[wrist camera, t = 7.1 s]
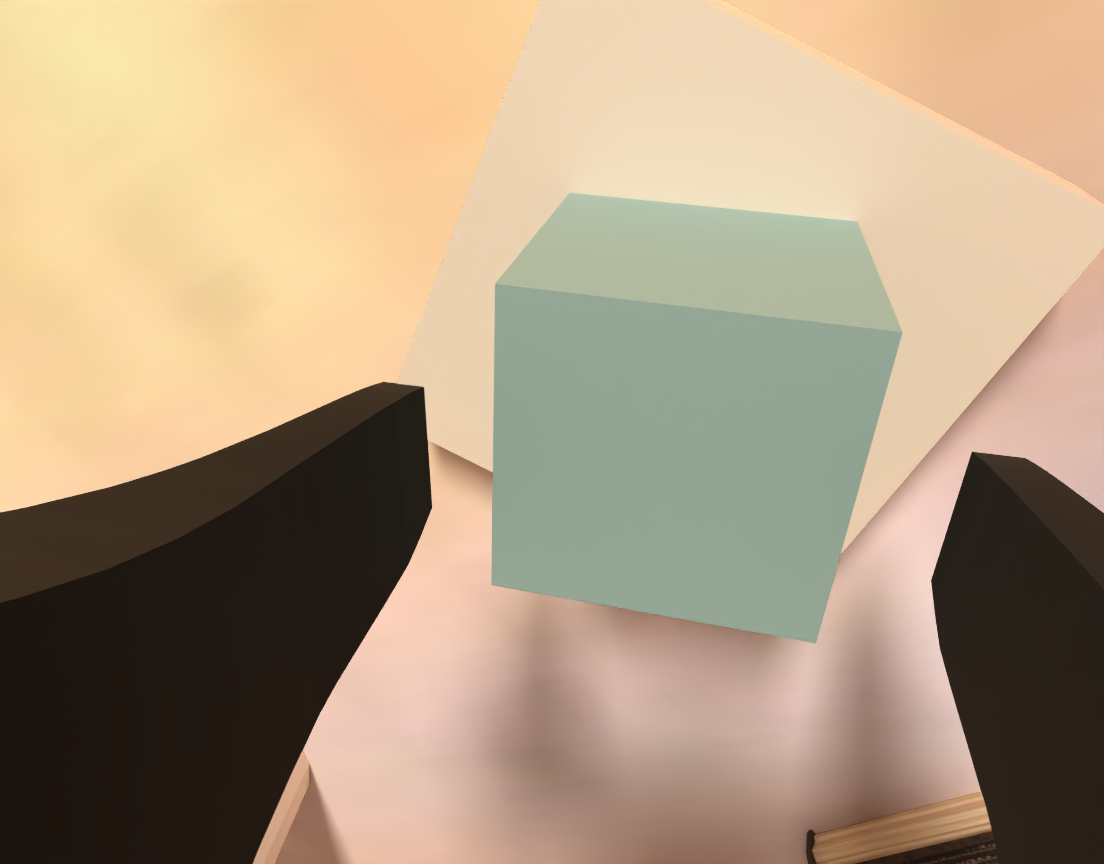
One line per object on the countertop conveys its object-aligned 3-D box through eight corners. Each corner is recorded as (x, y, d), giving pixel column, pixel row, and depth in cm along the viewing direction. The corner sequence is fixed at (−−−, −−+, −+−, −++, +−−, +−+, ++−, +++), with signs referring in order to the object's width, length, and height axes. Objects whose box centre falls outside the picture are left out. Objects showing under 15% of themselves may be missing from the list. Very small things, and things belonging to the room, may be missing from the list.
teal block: (857, 221, 14) (902, 332, 10) (800, 468, 16) (816, 642, 12) (569, 193, 15) (495, 283, 11) (556, 432, 17) (491, 585, 13)
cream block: (1066, 179, 16) (1126, 220, 13) (782, 539, 21) (786, 618, 18) (598, -65, 15) (566, -72, 13) (429, 362, 21) (383, 417, 18)
